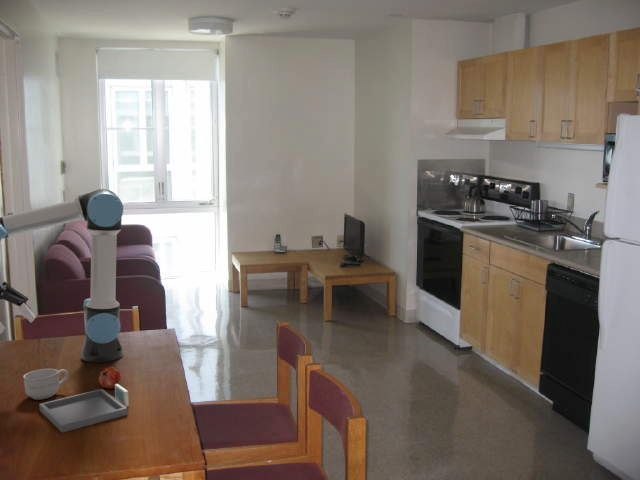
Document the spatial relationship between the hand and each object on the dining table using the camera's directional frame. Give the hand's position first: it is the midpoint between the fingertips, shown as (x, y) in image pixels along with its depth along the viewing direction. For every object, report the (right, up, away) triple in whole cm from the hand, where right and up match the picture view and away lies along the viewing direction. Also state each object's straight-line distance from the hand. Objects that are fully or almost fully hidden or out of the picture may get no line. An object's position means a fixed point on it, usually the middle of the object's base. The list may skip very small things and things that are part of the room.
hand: (18, 325), depth 227 cm
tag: (+36, -24, -5) cm, 43 cm away
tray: (+26, -25, -13) cm, 38 cm away
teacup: (+10, -23, 0) cm, 25 cm away
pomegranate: (+28, -22, +8) cm, 36 cm away
